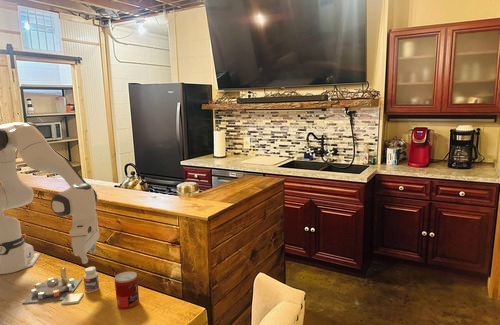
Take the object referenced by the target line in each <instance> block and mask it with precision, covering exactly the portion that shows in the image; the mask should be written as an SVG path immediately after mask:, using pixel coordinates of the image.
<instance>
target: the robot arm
mask: <svg viewBox="0 0 500 325" xmlns="http://www.w3.org/2000/svg"><path fill="white" fill-rule="evenodd" d="M16 151H17V153H18V154H19V155H20V157H21V159H22V161H23V162H24V164H25V165H26V166H27V167H29V168H30V169H31V170H35V171H38V172H47V173H52V174H55V175H58V176H61V178H62V179H64V181H65V182H66V184H68V186H69V188H67V189H65V190H64V191H61V192H58V193H56V194H54V195H53V196H52V198H51V200H50V207H51V210H52V212H53V213H54V214H55V215H57V216H58V217H67V216H72V217H71V218H72V224H71V227H70V230H69V233H68V234H69V236H70V237H71V247H72V253H73V254H74V256H75V257H80V259H81V263H82V264H88V262H89V257H88V255H87V253H88V252H89V254H90V255H94V254H95V253H96V250H97V249H96V245H97V242H98V240H99V239H100V229H99V221H98V213H97V211H96V207H97V201H98V194H97V192H96V190H95V189H94V188H93V186H92V185H91V184H89V183H87V182H86V181H85V179H84V178H83V177H82V176H81V174H80V173H79V172H78V171H77V170H76V169H75V167H74V166H73V165H72V164H71V162H69V160H68V159H66V158H65V157H63V156H62V155H60V154H59V153H57V152H56V151H55V150H54V149H53V148H52V147H51V145H50V143H49V142H48V141H47V139H46V138H45V136H44V135H43V134H42V132H41V129H40V127H39V126H38V125H37V124H35V123H34V122H30V121H29V122H28V121H27V122H26V121H24V122H8V123H2V124H0V183H1V185H0V275H6V274H12V273H15V272H18V271H21V270H24V269H27V268H32V267H33V266H34V265H35V264H36V262H37V260H38V259H39V257H40V256H41V254H40V253H39V252H35V251H34V250H35V249H34V246H33V245H31V244H29V243H27V242H26V241H25V239H26V238H27V233H22V230H21V228H22V227H21V223H20V220H18V218H16V217H13V216H8V215H6V214H5V213H4V211H7V210H10V209H15V208H17V209H18V208H20V207H21V208H22V207H23V206H25V205H28V204H30V203H32V201H33V199H34V197H35V196H34V195H35V192H34V189H33V188H32V187H31V186H30V185H29V184H28V183H25V181H23V180H21V178H20V177H19V175H18V170H17V156H16V155H17V154H16Z"/></svg>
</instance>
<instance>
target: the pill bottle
mask: <svg viewBox="0 0 500 325" xmlns="http://www.w3.org/2000/svg"><path fill="white" fill-rule="evenodd" d="M99 282H100V281H99V273H98V272H97V268H96V267H95V266H89V267H86V268H85V269H84V275H83V285H84V286H83V287H84V291H85V293H94V292H97V291H98V290H99V289H100V284H99Z"/></svg>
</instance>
